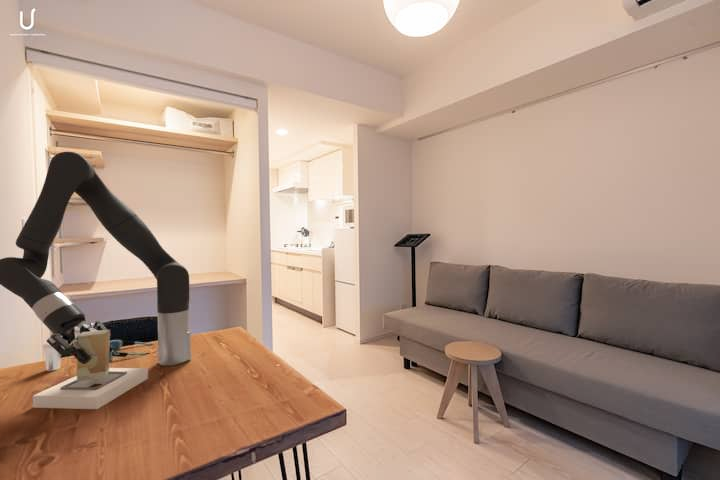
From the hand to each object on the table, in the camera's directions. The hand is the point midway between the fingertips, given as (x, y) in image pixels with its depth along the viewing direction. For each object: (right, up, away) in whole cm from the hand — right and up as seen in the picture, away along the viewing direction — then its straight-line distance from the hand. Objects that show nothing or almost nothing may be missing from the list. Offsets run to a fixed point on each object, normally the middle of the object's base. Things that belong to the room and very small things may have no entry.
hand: (99, 356), depth 87 cm
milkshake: (-28, -10, +16) cm, 33 cm away
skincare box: (-2, -6, 0) cm, 6 cm away
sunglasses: (-14, -10, +30) cm, 35 cm away
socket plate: (-1, -10, 0) cm, 10 cm away
